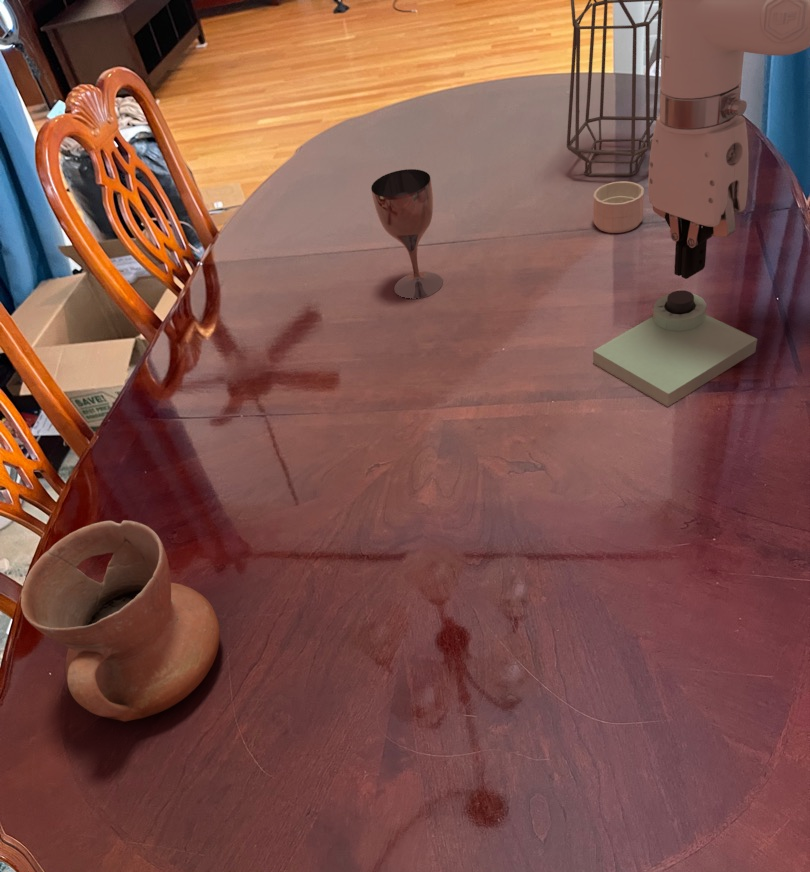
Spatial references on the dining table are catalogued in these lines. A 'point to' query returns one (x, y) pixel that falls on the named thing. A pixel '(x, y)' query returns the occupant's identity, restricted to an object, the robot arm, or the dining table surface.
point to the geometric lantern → (576, 44)
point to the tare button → (680, 302)
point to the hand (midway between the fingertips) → (689, 271)
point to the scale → (674, 352)
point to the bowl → (618, 206)
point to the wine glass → (407, 223)
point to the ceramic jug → (122, 621)
